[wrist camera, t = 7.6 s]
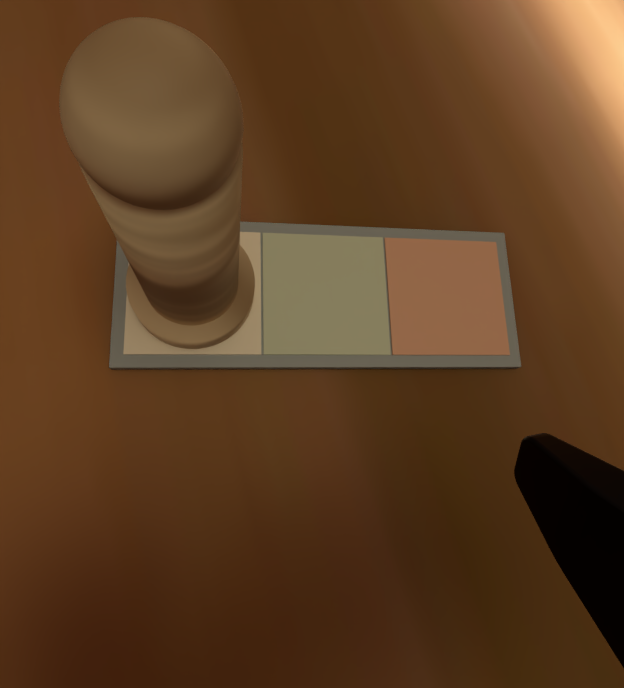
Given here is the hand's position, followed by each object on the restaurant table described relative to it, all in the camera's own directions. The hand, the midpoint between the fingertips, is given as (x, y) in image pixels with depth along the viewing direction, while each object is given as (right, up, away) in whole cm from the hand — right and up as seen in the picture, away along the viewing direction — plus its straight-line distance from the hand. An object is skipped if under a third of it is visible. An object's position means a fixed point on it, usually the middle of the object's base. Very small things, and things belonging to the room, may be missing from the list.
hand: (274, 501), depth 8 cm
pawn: (-5, +5, +14) cm, 15 cm away
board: (+1, +5, +15) cm, 16 cm away
